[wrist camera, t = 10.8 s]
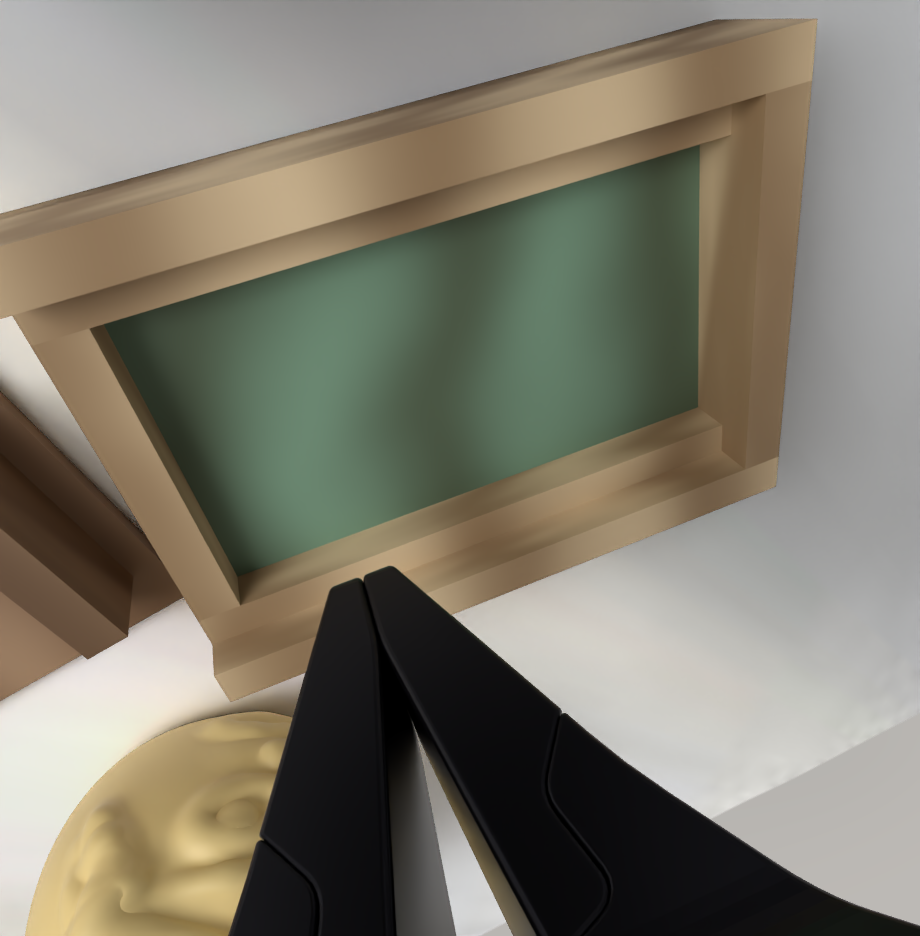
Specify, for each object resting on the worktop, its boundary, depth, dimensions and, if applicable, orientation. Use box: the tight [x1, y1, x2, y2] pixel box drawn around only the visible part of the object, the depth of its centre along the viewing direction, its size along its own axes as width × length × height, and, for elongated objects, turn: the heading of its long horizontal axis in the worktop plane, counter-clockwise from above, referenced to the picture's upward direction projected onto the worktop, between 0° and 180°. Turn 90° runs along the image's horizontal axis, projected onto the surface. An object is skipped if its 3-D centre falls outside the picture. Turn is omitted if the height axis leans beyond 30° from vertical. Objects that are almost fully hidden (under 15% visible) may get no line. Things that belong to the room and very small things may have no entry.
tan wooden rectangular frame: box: [0, 19, 817, 702], centre depth 19 cm, size 18×13×4 cm
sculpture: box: [25, 711, 293, 936], centre depth 22 cm, size 12×12×11 cm
